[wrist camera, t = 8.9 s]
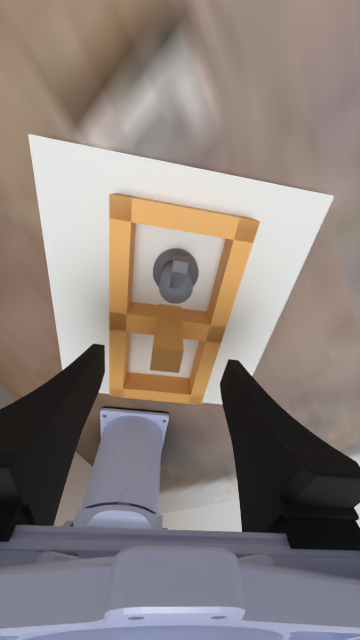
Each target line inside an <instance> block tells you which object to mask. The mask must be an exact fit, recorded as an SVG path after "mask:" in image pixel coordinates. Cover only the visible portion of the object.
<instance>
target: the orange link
mask: <svg viewBox="0 0 360 640" xmlns="http://www.w3.org/2000/svg"><path fill="white" fill-rule="evenodd" d="M136 223H139V224H145V225H151V226H157V227H163V228H168V229H174V230H180V231H186V232H192V233H197V234H203V235H209V236H215V237H221V238H226V239H225V243H224V247H223V251H222V255H221V259H220V263H219V266H218V270H217V274H216V278H215V282H214V286H213V290H212V294H211V297H210V301H209V305H208V309H207V312H205V311H197V310H190V309H183V308H181V307H180V306H173V305H166V304H159V305H153V304H146V303H138V302H132V285H133V268H134V251H135V233H136ZM259 224H260V221H258V220H255V219H253V218H250V217H245V216H239V215H234V214H228V213H223V212H218V211H212V210H207V209H201V208H196V207H190V206H185V205H180V204H174V203H169V202H163V201H158V200H152V199H147V198H142V197H136V196H131V195H125V194H120V193H113V194H109V396H110V397H121V398H132V399H143V400H154V401H164V402H175V403H186V404H197V405H201V404H202V401H203V398H204V394H205V391H206V388H207V385H208V382H209V379H210V376H211V373H212V370H213V367H214V363H215V360H216V357H217V354H218V351H219V348H220V345H221V342H222V339H223V335H224V332H225V329H226V326H227V323H228V320H229V317H230V314H231V311H232V308H233V304H234V301H235V298H236V295H237V292H238V289H239V286H240V283H241V280H242V276H243V273H244V270H245V267H246V264H247V261H248V258H249V255H250V252H251V249H252V245H253V242H254V239H255V236H256V233H257V230H258V227H259ZM130 332H132V333H140V334H148V335H154V341H153V348H152V356H151V364H150V370H153V371H162V372H172V373H179V370H180V366H181V361H182V357H183V352H184V344H183V339H189V340H197V341H199V344H198V348H197V352H196V356H195V359H194V363H193V367H192V371H191V375H190V378H181V377H171V376H161V375H152V374H142V373H132V372H128V355H129V337H130Z"/></svg>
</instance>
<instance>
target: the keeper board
mask: <svg viewBox="0 0 360 640" xmlns="http://www.w3.org/2000/svg"><path fill="white" fill-rule="evenodd" d="M28 136H29V143H30V149H31V156H32V163H33V170H34V177H35V184H36V191H37V198H38V204H39V211H40V218H41V225H42V232H43V239H44V246H45V253H46V260H47V266H48V273H49V280H50V287H51V294H52V301H53V308H54V315H55V322H56V328H57V335H58V342H59V349H60V356H61V363H62V370H64V369H65V368H66V367H67V366H69V365H70V364H71V363H72V362H73V361H74V360H76V359H77V358H78V357H79V356H80V355H81V354H82V353H84V352H85V351H86V350H87V349H88V348H89V347H90V346H91V345H92V344H101V345H105V374H104V377H103V381H102V384H101V387H100V390H99V392H98V393H105V394H109V194H113V193H120V194H125V195H131V196H136V197H142V198H147V199H152V200H158V201H163V202H169V203H174V204H180V205H185V206H190V207H196V208H201V209H207V210H212V211H218V212H223V213H228V214H234V215H239V216H245V217H250V218H253V219H255V220H258V221H260V224H259V227H258V230H257V233H256V236H255V239H254V242H253V245H252V249H251V252H250V255H249V258H248V261H247V264H246V267H245V270H244V273H243V276H242V280H241V283H240V286H239V289H238V292H237V295H236V298H235V301H234V304H233V308H232V311H231V314H230V317H229V320H228V323H227V326H226V329H225V332H224V335H223V339H222V342H221V345H220V348H219V351H218V354H217V357H216V360H215V363H214V367H213V370H212V373H211V376H210V379H209V382H208V385H207V388H206V391H205V394H204V398H203V401H202V403H213V404H222V399H221V391H220V381H221V379H222V376H223V373H224V370H225V367H226V365H227V362H228V359H232V360H239V362H240V363H241V364H242V365H243V366H244V367H245V369H246V370H247V371H248V372H249V373H250V375H251V376H253V373H254V371H255V369H256V367H257V365H258V363H259V360H260V358H261V356H262V354H263V352H264V349H265V347H266V345H267V343H268V341H269V338H270V336H271V334H272V332H273V330H274V327H275V325H276V323H277V321H278V319H279V316H280V314H281V312H282V310H283V308H284V305H285V303H286V301H287V299H288V297H289V294H290V292H291V290H292V288H293V286H294V283H295V281H296V279H297V277H298V275H299V272H300V270H301V268H302V266H303V264H304V261H305V259H306V257H307V255H308V253H309V251H310V248H311V246H312V244H313V242H314V240H315V237H316V235H317V233H318V231H319V229H320V226H321V224H322V222H323V220H324V218H325V215H326V213H327V211H328V209H329V207H330V204H331V202H332V200H333V198H334V196H332V195H327V194H322V193H317V192H312V191H307V190H302V189H297V188H292V187H287V186H282V185H277V184H272V183H267V182H263V181H258V180H253V179H248V178H243V177H238V176H233V175H228V174H223V173H218V172H213V171H208V170H203V169H198V168H194V167H189V166H184V165H179V164H174V163H169V162H164V161H159V160H154V159H149V158H144V157H139V156H134V155H129V154H124V153H120V152H115V151H110V150H105V149H100V148H95V147H90V146H85V145H80V144H75V143H70V142H65V141H60V140H55V139H51V138H46V137H41V136H36V135H31V134H28ZM225 239H226V238H221V237H215V236H209V235H203V234H197V233H192V232H186V231H180V230H174V229H168V228H163V227H157V226H151V225H145V224H139V223H136V233H135V251H134V268H133V285H132V302H138V303H146V304H153V305H159V304H166V305H173V306H180V307H181V308H183V309H190V310H197V311H205V312H207V309H208V305H209V301H210V297H211V294H212V290H213V286H214V282H215V278H216V274H217V270H218V266H219V263H220V259H221V255H222V251H223V247H224V243H225ZM153 341H154V335H148V334H140V333H132V332H130V337H129V355H128V372H132V373H142V374H152V375H161V376H171V377H181V378H190V375H191V371H192V367H193V363H194V359H195V356H196V352H197V348H198V344H199V341H197V340H189V339H183V344H184V352H183V357H182V361H181V366H180V370H179V373H172V372H162V371H153V370H150V364H151V356H152V348H153Z"/></svg>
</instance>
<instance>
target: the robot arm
mask: <svg viewBox="0 0 360 640" xmlns="http://www.w3.org/2000/svg"><path fill="white" fill-rule="evenodd" d="M104 374H105V345H101V344H92V345H91V346H90V347H89V348H88V349H87V350H86V351H85V352H84V353H82V354H81V355H80V356H79V357H78V358H77V359H76V360H74V361H73V362H72V363H71V364H70V365H69V366H67V367H66V368H65V369H64V370H62V371H61V372H60V373H58V374H57V375H56V376H55V377H53V378H52V379H50V380H49V381H48V382H46V383H45V384H43V385H42V386H40V387H39V388H37V389H36V390H34V391H33V392H31V393H29V394H28V395H26V396H24V397H22V398H21V399H19V400H17V401H15V402H14V403H12V404H10V405H8V406H6V407H4V408H2V409H0V640H360V528H359V526H358V524H357V522H356V520H358V519H359V516H358V515H357V513H356V511H355V509H354V507H355V506H356V505H357V504H359V503H360V467H359V465H358V464H357V462H356V461H354V460H352V459H351V458H349V457H348V456H346V455H344V454H343V453H341V452H340V451H338V450H336V449H335V448H333V447H332V446H330V445H329V444H327V443H326V442H324V441H323V440H321V439H320V438H318V437H317V436H316V435H314V434H313V433H312V432H310V431H309V430H308V429H306V428H305V427H304V426H303V425H301V424H300V423H299V422H297V421H296V420H295V419H294V418H293V417H291V416H290V415H289V414H288V413H287V412H286V411H285V410H284V409H282V408H281V407H280V406H279V405H278V404H277V403H276V402H275V401H274V400H273V399H272V398H271V397H270V396H269V395H268V394H267V393H266V392H265V391H264V389H263V388H262V387H261V386H260V385H259V384H258V383H257V382H256V380H255V379H254V378H253V377H252V376H251V375H250V373H249V372H248V371H247V370H246V369H245V367H244V366H243V365H242V364H241V363H240V362H239V360H232V359H228V362H227V365H226V367H225V370H224V373H223V376H222V379H221V381H220V391H221V399H222V404H223V408H224V412H225V416H226V420H227V424H228V428H229V432H230V436H231V440H232V445H233V452H234V459H235V466H236V473H237V481H238V491H239V500H240V511H241V522H242V532H224V531H193V530H168V529H167V528H162V519H163V518H162V517H163V516H162V515H158V505H159V485H160V465H161V452H162V448H163V443H164V439H165V434H166V429H167V425H168V420H169V415H168V414H167V413H157V412H146V411H134V410H123V409H111V408H102V409H101V411H100V430H101V441H100V444H99V448H98V451H97V455H96V458H95V461H94V465H93V468H92V472H91V475H90V478H89V482H88V485H87V489H86V492H85V496H84V499H83V502H82V506H81V508H79V509H78V510H77V514H76V517H75V520H74V524H73V521H66V522H65V523H64V525H63V526H53V525H54V521H55V517H56V514H57V511H58V507H59V504H60V500H61V496H62V493H63V490H64V486H65V483H66V479H67V476H68V472H69V469H70V466H71V462H72V460H73V456H74V453H75V450H76V447H77V444H78V441H79V438H80V435H81V432H82V429H83V427H84V424H85V422H86V420H87V417H88V415H89V413H90V411H91V408H92V406H93V404H94V401H95V399H96V397H97V394H98V392H99V390H100V387H101V384H102V381H103V377H104Z"/></svg>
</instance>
